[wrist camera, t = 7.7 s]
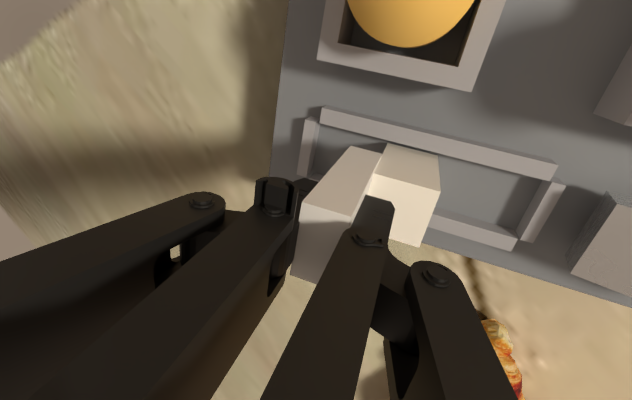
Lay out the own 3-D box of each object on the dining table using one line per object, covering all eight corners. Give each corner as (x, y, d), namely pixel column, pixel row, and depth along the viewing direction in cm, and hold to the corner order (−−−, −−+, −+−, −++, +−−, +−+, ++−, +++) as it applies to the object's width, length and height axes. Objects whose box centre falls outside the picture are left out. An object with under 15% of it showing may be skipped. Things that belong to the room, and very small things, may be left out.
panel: (289, 174, 24) (247, 211, 19) (329, -100, 17) (280, -176, 12) (653, 281, 20) (745, 374, 14) (921, -37, 12) (1339, -113, 7)
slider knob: (375, 187, 18) (358, 228, 14) (387, 142, 17) (373, 173, 13) (421, 200, 18) (419, 247, 13) (438, 155, 17) (440, 191, 12)
